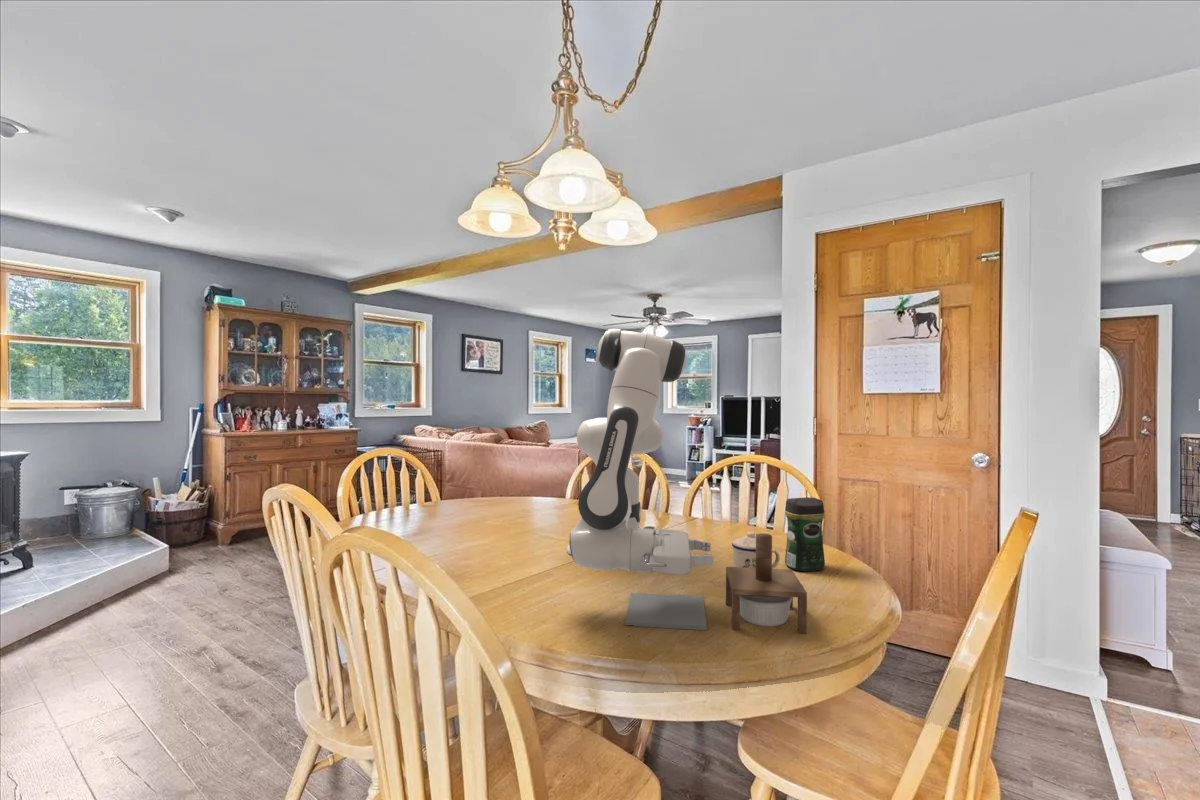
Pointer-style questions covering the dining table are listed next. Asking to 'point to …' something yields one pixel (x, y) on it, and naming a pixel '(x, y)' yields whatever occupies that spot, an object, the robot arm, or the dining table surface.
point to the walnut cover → (764, 583)
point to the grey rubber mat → (666, 611)
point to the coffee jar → (804, 534)
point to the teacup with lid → (748, 552)
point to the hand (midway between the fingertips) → (711, 552)
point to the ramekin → (765, 609)
